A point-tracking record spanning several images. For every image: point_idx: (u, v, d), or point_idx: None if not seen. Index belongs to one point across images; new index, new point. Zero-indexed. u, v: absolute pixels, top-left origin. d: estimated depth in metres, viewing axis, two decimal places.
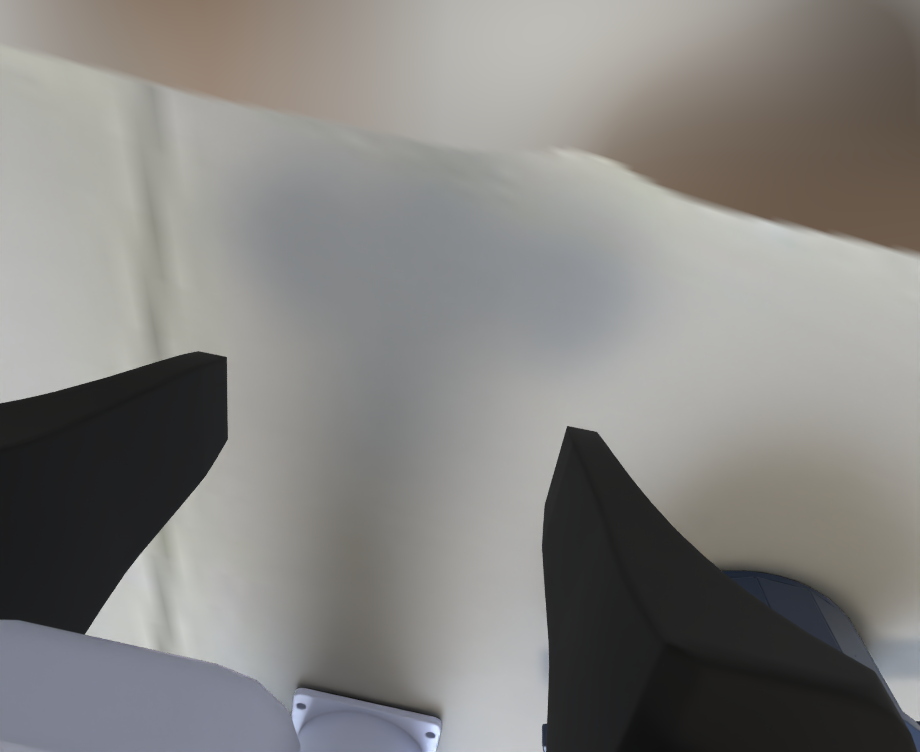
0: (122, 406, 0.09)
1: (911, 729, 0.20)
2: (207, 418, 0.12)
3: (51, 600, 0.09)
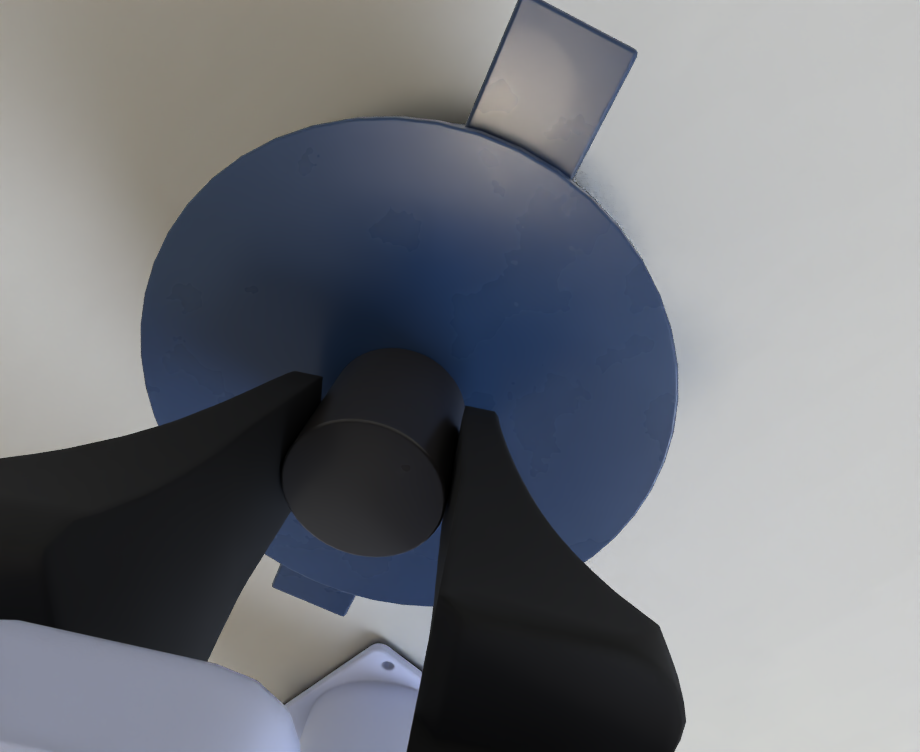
0: (248, 433, 0.09)
1: (293, 139, 0.11)
2: None
3: (188, 630, 0.09)
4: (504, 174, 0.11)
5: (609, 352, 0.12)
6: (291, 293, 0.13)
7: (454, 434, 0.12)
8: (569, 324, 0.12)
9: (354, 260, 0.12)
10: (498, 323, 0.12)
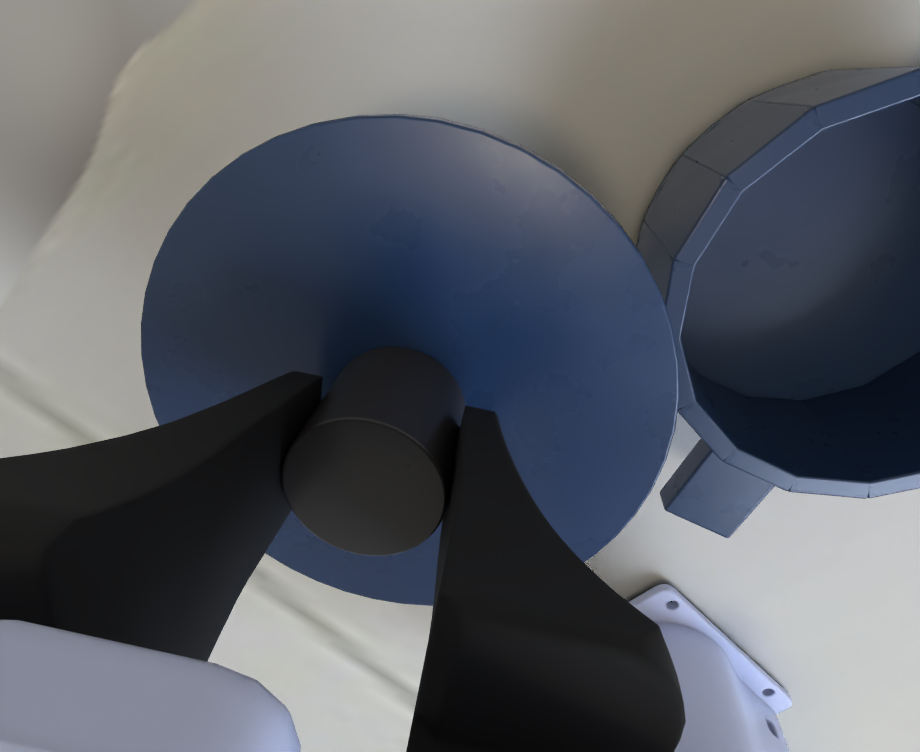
0: (248, 433, 0.09)
1: (293, 137, 0.11)
2: None
3: (188, 630, 0.09)
4: (505, 172, 0.11)
5: (610, 350, 0.12)
6: (292, 291, 0.13)
7: (455, 433, 0.12)
8: (570, 323, 0.12)
9: (355, 258, 0.12)
10: (499, 322, 0.12)
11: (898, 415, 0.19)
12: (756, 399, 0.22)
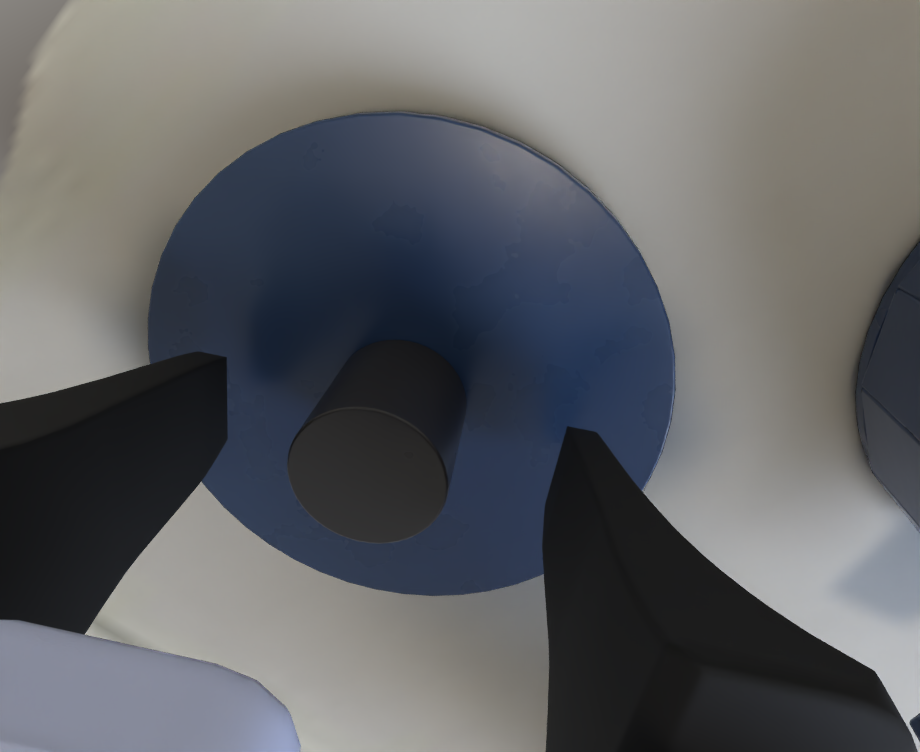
0: (122, 407, 0.09)
1: (298, 134, 0.12)
2: (207, 418, 0.12)
3: (51, 600, 0.09)
4: (504, 169, 0.11)
5: (607, 343, 0.13)
6: (296, 286, 0.13)
7: (456, 423, 0.12)
8: (568, 316, 0.12)
9: (357, 253, 0.12)
10: (499, 315, 0.13)
11: None
12: None
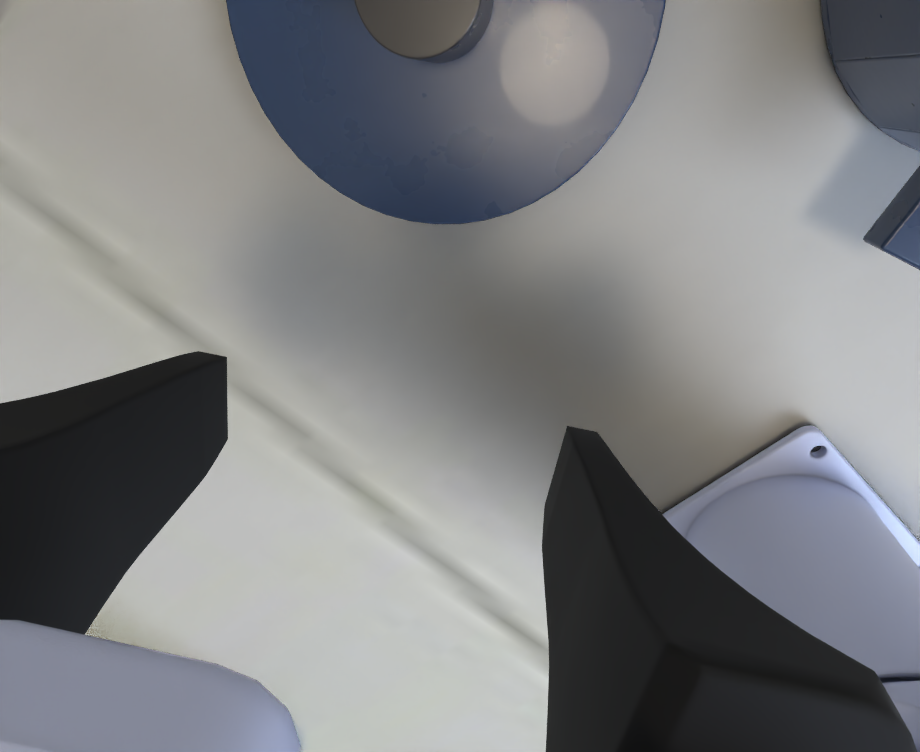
0: (122, 406, 0.09)
1: None
2: (207, 418, 0.12)
3: (51, 600, 0.09)
4: None
5: None
6: None
7: None
8: None
9: None
10: None
11: None
12: None
